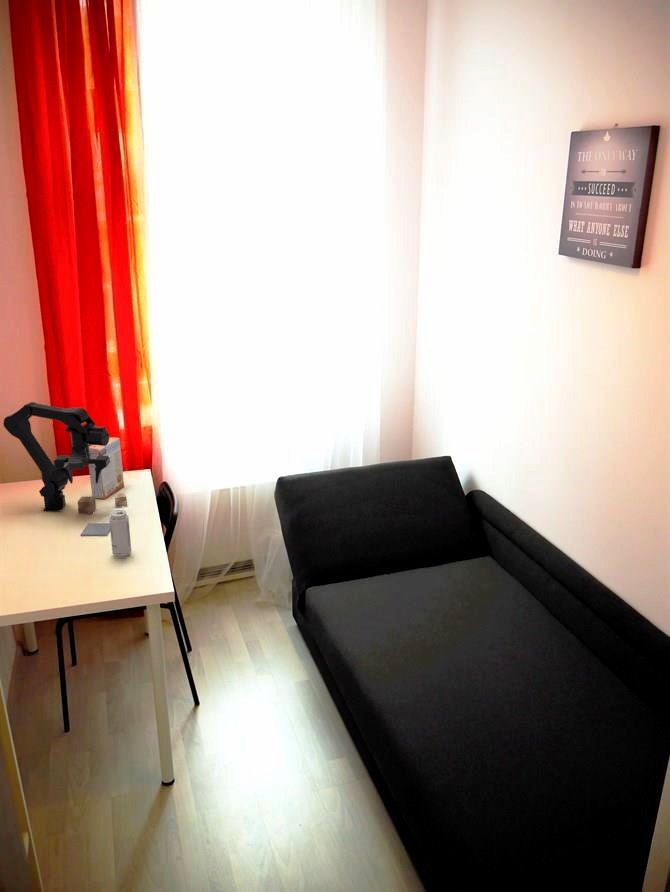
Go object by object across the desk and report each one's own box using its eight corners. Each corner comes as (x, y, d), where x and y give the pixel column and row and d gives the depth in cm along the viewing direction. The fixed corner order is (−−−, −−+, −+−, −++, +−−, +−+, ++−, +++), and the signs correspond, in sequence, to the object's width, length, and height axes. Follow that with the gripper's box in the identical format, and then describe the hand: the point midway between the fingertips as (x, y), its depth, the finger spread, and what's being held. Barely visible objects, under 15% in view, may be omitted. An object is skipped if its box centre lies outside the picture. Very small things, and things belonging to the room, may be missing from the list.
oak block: (116, 507, 282) (115, 498, 280) (115, 503, 285) (114, 494, 284) (127, 506, 283) (126, 496, 282) (126, 502, 287) (125, 492, 285)
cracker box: (111, 484, 302) (107, 435, 295) (124, 486, 301) (120, 437, 294) (91, 497, 290) (85, 447, 283) (104, 500, 288) (99, 449, 281)
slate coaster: (80, 536, 259) (80, 534, 259) (88, 524, 267) (88, 523, 267) (106, 536, 259) (106, 534, 259) (113, 524, 268) (113, 523, 267)
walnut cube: (78, 514, 276) (77, 501, 274) (82, 508, 280) (81, 496, 279) (92, 514, 276) (91, 501, 274) (96, 508, 281) (94, 496, 279)
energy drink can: (111, 551, 248) (107, 510, 243) (130, 549, 250) (126, 508, 245) (113, 560, 243) (109, 518, 238) (132, 557, 245) (128, 515, 240)
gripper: (46, 450, 261) (51, 491, 266) (100, 451, 262) (104, 492, 267) (56, 440, 272) (61, 479, 277) (108, 440, 272) (112, 480, 278)
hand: (84, 483), depth 274 cm, fingers open, 9 cm apart
